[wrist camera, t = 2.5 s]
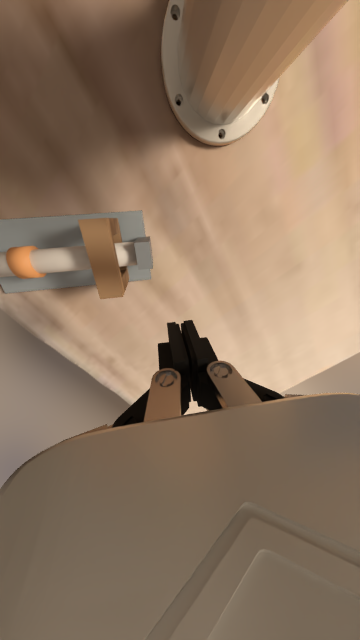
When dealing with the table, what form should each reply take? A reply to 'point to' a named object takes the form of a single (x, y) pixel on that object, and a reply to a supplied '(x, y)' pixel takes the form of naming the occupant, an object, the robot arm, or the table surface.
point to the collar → (105, 255)
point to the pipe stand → (65, 251)
